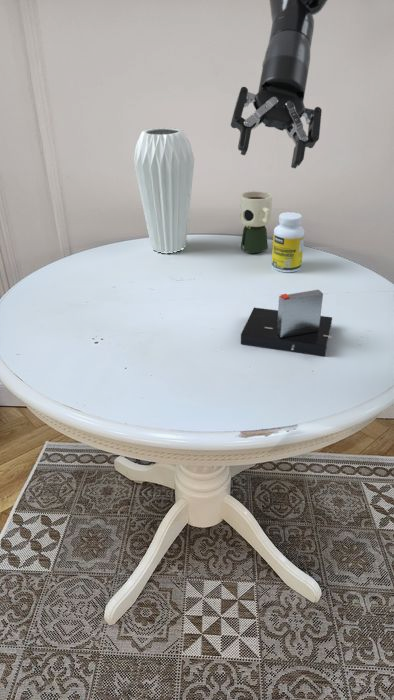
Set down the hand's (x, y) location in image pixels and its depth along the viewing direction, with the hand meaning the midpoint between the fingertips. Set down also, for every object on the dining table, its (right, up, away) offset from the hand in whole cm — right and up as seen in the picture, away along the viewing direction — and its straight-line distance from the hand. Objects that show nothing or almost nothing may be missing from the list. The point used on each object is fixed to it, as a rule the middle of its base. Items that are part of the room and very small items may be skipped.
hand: (269, 159), depth 85 cm
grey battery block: (+5, -28, +3) cm, 28 cm away
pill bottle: (+8, -13, +31) cm, 35 cm away
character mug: (+2, -7, +40) cm, 41 cm away
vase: (-18, -6, +42) cm, 47 cm away
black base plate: (+4, -29, +6) cm, 29 cm away
